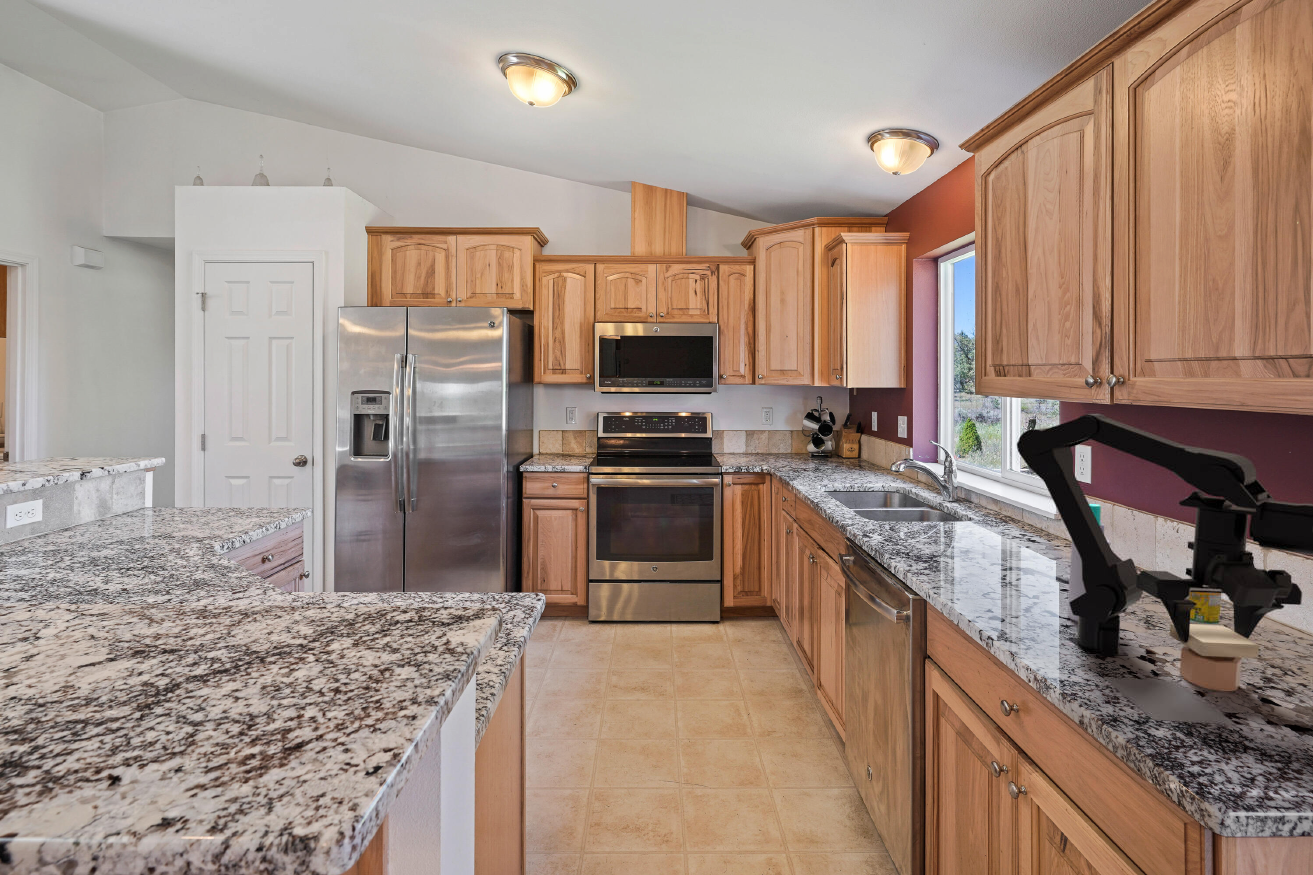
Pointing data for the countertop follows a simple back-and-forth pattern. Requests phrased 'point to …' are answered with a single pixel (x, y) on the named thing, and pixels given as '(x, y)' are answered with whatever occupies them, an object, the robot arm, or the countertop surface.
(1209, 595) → the supplement bottle
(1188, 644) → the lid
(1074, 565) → the spray bottle
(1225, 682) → the bowl
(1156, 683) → the mat
